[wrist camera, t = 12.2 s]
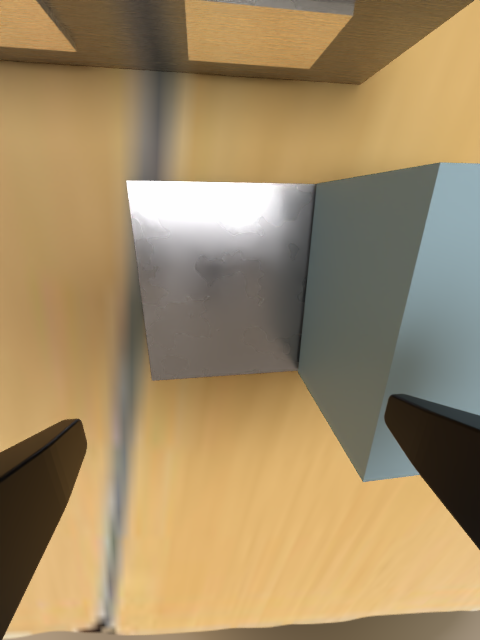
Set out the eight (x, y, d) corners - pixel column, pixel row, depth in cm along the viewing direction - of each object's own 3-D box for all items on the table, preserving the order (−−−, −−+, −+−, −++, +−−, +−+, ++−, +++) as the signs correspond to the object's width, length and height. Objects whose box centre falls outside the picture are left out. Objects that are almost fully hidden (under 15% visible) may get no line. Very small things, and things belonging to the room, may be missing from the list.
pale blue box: (297, 372, 23) (363, 482, 14) (316, 183, 18) (440, 162, 9) (409, 364, 25) (534, 460, 15) (457, 186, 19) (692, 170, 10)
